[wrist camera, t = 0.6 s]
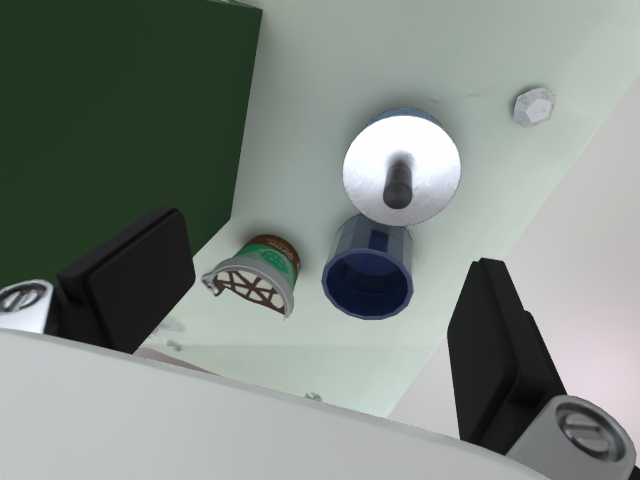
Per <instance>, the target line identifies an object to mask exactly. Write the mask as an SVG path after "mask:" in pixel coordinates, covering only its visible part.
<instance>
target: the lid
mask: <svg viewBox="0 0 640 480" xmlns="http://www.w3.org/2000/svg"><path fill="white" fill-rule="evenodd" d="M342 177H343V184H344V188H345V191H346V193H347V195H348V197H349V199H350V201H351V202H352V204H353V205H354V206H355V207H356V208H357V209H358V210H359V211H360V212H361V213H362V214H363V215H365V216H366V217H368V218H370V219H371V220H373V221H376V222H378V223H381V224H385V225H390V226H408V225H414V224H418V223H421V222H423V221H426V220H428V219H430V218H432V217H433V216H435V215H436V214H438V213H439V212H440V211H441V210H442V209H444V208H445V206H446V205H447V204H448V203H449V202H450V200H451V199H452V198H453V196H454V194H455V192H456V190H457V188H458V185H459V182H460V177H461V160H460V156H459V152H458V150H457V147H456V145H455V143H454V141H453V140H452V138H451V137H450V136H449V134H448V133H447V132H446V131H445V130H444V129H443V128H441V127H440V126H439V125H437V124H436V123H434V122H433V121H430V120H428V119H426V118H423V117H419V116H414V115H394V116H389V117H385V118H383V119H380V120H378V121H376V122H374V123H372V124H370V125H369V126H367V127H366V128H365V129H363V130H362V131H361V132H360V133H359V134H358V135H357V136H356V138H355V139H354V140H353V141H352V143H351V145H350V147H349V148H348V150H347V153H346V155H345V158H344V162H343V169H342Z"/></svg>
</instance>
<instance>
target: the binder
mask: <svg viewBox="0 0 640 480" xmlns="http://www.w3.org/2000/svg"><path fill="white" fill-rule="evenodd" d="M261 17H262V9H259V8H256V7H253V6H250V5H247V4H243V3H240V2H237V1H234V0H0V290H1V289H3V288H4V287H7V286H9V285H12V284H14V283H18V282H22V281H26V280H34V279H39V280H46V281H49V282H50V283H51V284H52V285H53V286H54V288H55V287H56V286H58V285H59V284H60V283H59V281H58V279H57V277H56V275H55V274H57V273H58V272H60V271H61V270H63V269H64V268H66V267H67V266H69V265H70V264H72V263H73V262H75V261H76V260H78V259H79V258H81V257H82V256H84V255H85V254H87V253H88V252H90V251H91V250H93V249H94V248H96V247H97V246H99V245H100V244H102V243H103V242H105V241H106V240H108V239H109V238H111V237H112V236H114V235H115V234H117V233H118V232H120V231H121V230H123V229H124V228H126V227H127V226H129V225H130V224H132V223H133V222H135V221H136V220H138V219H139V218H141V217H142V216H144V215H145V214H147V213H148V212H150V211H151V210H153V209H154V208H156V207H157V206H160V205H161V206H168V207H174V208H178V209H179V210H180V212H181V213H182V214H183V215H184V217H185V222H186V228H187V233H188V238H189V243H190V249H191V254H192V258H193V257H194V256H195V255H196V253H197V252H198V251H199V250H200V249H201V248H202V247H203V246H204V245H205V244H206V243H207V242H208V241H209V240H210V239H211V238H212V237H213V236H214V235H215V234H216V233H217V232H218V231H219V230H220V229H221V228H222V227H223V226H224V225H225V224H226V223H227V222H228V221H229V220H230V215H231V209H232V202H233V196H234V190H235V183H236V177H237V170H238V164H239V158H240V151H241V145H242V138H243V132H244V126H245V119H246V113H247V106H248V100H249V94H250V87H251V81H252V74H253V68H254V61H255V55H256V49H257V42H258V36H259V29H260V23H261Z"/></svg>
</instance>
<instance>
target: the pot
mask: <svg viewBox="0 0 640 480" xmlns="http://www.w3.org/2000/svg"><path fill="white" fill-rule="evenodd" d="M321 282H322V285H323V289H324V292H325V295H326V296H327V298H328V299H329V300H330V301H331V303H332V304H333V305H334V306H335V307H336V308H338V309H339V310H341V311H342V312H344V313H345V314H347V315H349V316H353V317H356V318H360V319H363V320H382V319H385V318H388V317H391V316H395V315H397V314H398V313H399V312H401V311H402V310H403V309H404V308H405V307H407V306H408V304H409V302H410V299H411V297H412V295H413V292H414V290H413V248H412V240H411V237H410V235H409V233H408V231H407V230H406V228H405V227H404V226H390V225H385V224H381V223H378V222H376V221H373V220H371V219H370V218H368V217H366V216H365V215H363V214H360V215H357V216H354V217H352V218H351V219H349V220H348V221H346V222H345V223H344V224H343V225H342V226H341V228H340V229H339V231H338V232H337V234H336V237H335V240H334V243H333V245H332V248H331V251H330V253H329V256H328V259H327V262H326V264H325V267H324V271H323V276H322V281H321Z"/></svg>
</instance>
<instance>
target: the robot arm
mask: <svg viewBox="0 0 640 480" xmlns="http://www.w3.org/2000/svg"><path fill="white" fill-rule="evenodd" d="M55 275H56V277H57V279H58V281H59V283H60V284H59V285H58V286H56V287H55V288H54V286H53V285H52V284H51V283H50V282H49V281H46V280H39V279H34V280H26V281H22V282H18V283H14V284H12V285H9V286H7V287H4V288H3V289H1V290H0V480H640V469H639V468H638V467H637V466H636V465H635V462H636V451H635V448H634V444H633V442H632V440H631V439H630V437H629V436H628V434H627V432H626V431H625V429H624V428H623V427H622V426H621V425H620V424H619V423H618V422H617V421H616V420H615V419H614V418H613V417H612V416H610V415H609V414H608V413H607V412H605V411H604V410H603V409H601V408H600V407H598V406H596V405H595V404H593V403H591V402H589V401H587V400H584V399H582V398H579V397H575V396H569V395H567V393H566V390H565V388H564V386H563V383H562V381H561V379H560V377H559V375H558V372H557V370H556V368H555V365H554V363H553V361H552V359H551V356H550V354H549V352H548V350H547V347H546V345H545V343H544V341H543V338H542V336H541V334H540V331H539V329H538V327H537V325H536V323H535V320H534V318H533V316H532V315H531V313H530V312H528V311H525V310H524V308H523V305H522V303H521V301H520V298H519V296H518V294H517V291H516V289H515V287H514V284H513V282H512V280H511V277H510V275H509V272H508V270H507V268H506V265H505V263H504V262H503V261H500V260H494V259H488V258H481V259H480V260H479V262H476V261H473V262H472V264H471V266H470V269H469V271H468V274H467V277H466V280H465V282H464V285H463V288H462V290H461V293H460V296H459V299H458V301H457V304H456V307H455V310H454V312H453V315H452V318H451V320H450V323H449V326H448V331H447V339H448V347H449V355H450V363H451V370H452V379H453V387H454V395H455V403H456V411H457V418H458V427H459V435H460V440H458V439H455V438H452V437H449V436H446V435H442V434H439V433H435V432H432V431H428V430H424V429H421V428H417V427H413V426H410V425H406V424H402V423H399V422H395V421H391V420H388V419H384V418H381V417H377V416H373V415H369V414H365V413H361V412H357V411H354V410H350V409H346V408H342V407H338V406H334V405H330V404H326V403H322V402H319V401H315V400H311V399H307V398H303V397H299V396H295V395H291V394H287V393H284V392H280V391H276V390H272V389H268V388H264V387H260V386H256V385H252V384H248V383H244V382H240V381H236V380H232V379H228V378H224V377H220V376H216V375H212V374H208V373H204V372H200V371H196V370H192V369H188V368H184V367H180V366H176V365H172V364H168V363H163V362H160V361H156V360H152V359H147V358H143V357H139V356H135V355H132V354H133V353H134V352H135V351H136V350H137V349H138V347H139V346H140V345H141V344H142V343H143V342H144V341H145V339H146V338H147V337H148V336H149V335H150V334H151V332H152V331H153V330H154V329H155V328H156V327H157V326H158V325H159V323H160V322H161V321H162V320H163V319H164V318H165V317H166V316H167V314H168V313H169V312H170V311H171V310H172V309H173V308H174V306H175V305H176V304H177V303H178V302H179V301H180V300H181V298H182V297H183V296H184V295H185V294H186V293H187V292H188V290H189V289H190V288H191V287H192V286H193V284H194V282H195V278H196V275H195V270H194V264H193V259H192V254H191V249H190V243H189V238H188V233H187V228H186V222H185V217H184V215H183V214H182V213H181V212H180V210H179V209H178V208H174V207H168V206H161V205H160V206H157V207H156V208H154V209H153V210H151V211H150V212H148V213H147V214H145V215H144V216H142V217H141V218H139V219H138V220H136V221H135V222H133V223H132V224H130V225H129V226H127V227H126V228H124V229H123V230H121V231H120V232H118V233H117V234H115V235H114V236H112V237H111V238H109V239H108V240H106V241H105V242H103V243H102V244H100V245H99V246H97V247H96V248H94V249H93V250H91V251H90V252H88V253H87V254H85V255H84V256H82V257H81V258H79V259H78V260H76V261H75V262H73V263H72V264H70V265H69V266H67V267H66V268H64V269H63V270H61V271H60V272H58V273H57V274H55Z"/></svg>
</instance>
